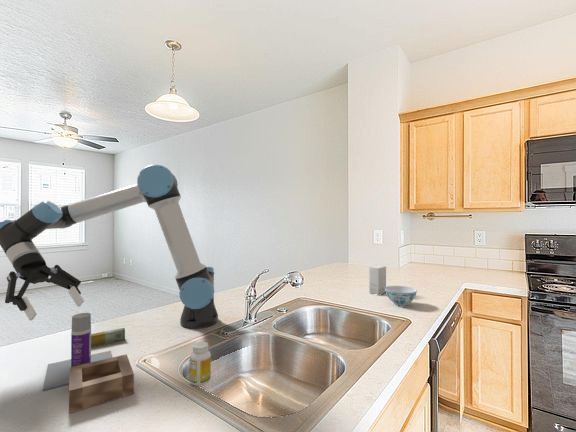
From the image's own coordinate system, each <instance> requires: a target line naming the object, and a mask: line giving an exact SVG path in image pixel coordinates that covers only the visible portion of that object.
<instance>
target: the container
mask: <svg viewBox="0 0 576 432" xmlns="http://www.w3.org/2000/svg"><path fill="white" fill-rule="evenodd" d="M91 321H92V314H91V313H90V312H82V313H76V314H74V315H72V316H71V331H70V332H71V335H70V338H71V340H70V341H71V343H70V344H71V347H70V350H71V352H70V354H71V355H70V358H71V367H73V366H78V365H82V364H86V363H91V355H92V347H91V334H92V322H91Z"/></svg>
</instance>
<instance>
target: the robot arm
mask: <svg viewBox="0 0 576 432" xmlns="http://www.w3.org/2000/svg"><path fill="white" fill-rule="evenodd" d="M136 180H137V181H136V184H133V185H129V186H125V187H123V188H122V187H121V188H119V189H116V190H112V191H110V192H106V193H103V194H99V195H96V196H92V197H89V198H86V199H82V200H80V201H76V202H73V203H70V204H67V205H63V206H60V207H59V206H58V205H57V204H55V203H54V202H52V201H50V200H42V201H40V202H39V203H38V204H35V205H34V206H33V207H32V208H31V209H30V210H28V211H27V212H25V213H24V214H23V215H22V216H19V218H17V219H14V218H9V219H8V218H7V219H4V220H3V221H0V247H1V249H2V250H3V252H4V254H5V255H6V257H7V259H8V260H9V262H10V264H11V265H12V267H13V269H14V270H13V271H10V272H9V273H8V275H7V276H6V280H7V289H6V292H5V299H4V303H5V304H10V303H12V305H13V306H17V308H18V309H19V311H20V312H24V314H25V316H26V317H27V319H28V320H29V322H31V321H33V320H34V319H35V318H36V316H37V314H38V313H37V312H36V310H35V307H33V305H32V304H31V302H30V300H29V298H28V297H27V296H24V294H25V293H26V291H27V290H28V288H29V285H30V284H33V285H36V284H39V283H40V284H41V283H45V282H46V283H48V284H50V283H51V284H54V285H56V286H59V287H61V288H64V289H66V290H68V294H69V295H70V297H71V299H72V300H73V302H74V303H75V305H76V306H77V308H79V307H81V306H82V305H83V303H84V302H85V300H84V298H83V297H82V295H81V294H82V293H81V291H80V289H79V286H80V285H81V283H82V282H81V280H79V279H78V278H77V277H75V276H73V275H71V274H70V273H69V272H67V271H66V270H64V269H63V268H62V267H60V265H59V264H55V265H54V267H53V266H52V267H49V266H48V265H47V262H46V261H45V258H44V257H43V255H42V254H41V253H40V251H39V249H38V248H37V246H36V244H34V242H33V239H35V238H36V237H37V236H39V235H40V234H42V233H43V232H45V231H46V230H53V229H61V230H62V229H63V230H64V229H66V228H70V227H71V226H73V225H76V224H79V223H82V222H84V221H88V220H91V219H95V218H97V217H101V216H104V215H107V214H110V213H113V212H117V211H121V210H123V209H126V208H129V207H133V206H136V205H139V204H142V203H146V204H147V206H148V208H149V209H152V210H153V211H154V212H155V215H156V217H157V220H158V223H159V225H160V228H161V231H162V233H163V237H164V239H165V242H166V244H167V247H168V250H169V252H170V255H171V258H172V260H173V263H174V266H175V268H176V270H177V272H176V275H175V276H174V279H175V281H176V284H177V287H178V290H179V299H180V302H181V303H182V304H183V305H184V306H183V309H182V312H181V315H180V319H179V320H180V322H179V323H180V326H182V327H183V328H187V329H200V328H206V327H210V326H214V325H215V324H217V323H218V322H219V314H218V311H217V309H216V305H215V302H214V301H215V284H214V283H215V281H214V280H215V279H214V278H215V271H214V267H212V266H207V265H206V264H204V263H201V260H200V258H199V255H198V252H197V250H196V247H195V244H194V242H193V237H191V233H190V231H189V228H188V225H187V222H186V219H185V217H184V214H183V211H182V209H181V206H180V203H179V202H180V200H181V194H180V191H179V188H178V187H179V186H178V184H179V183H178V180H177V178H176V176H175V175H174V174H173V173H172V172H171V170H170V169H169V168H168V167H166V166H164V165H160V164H149V165H147V166H145V167H143V168H142V169H141V170H140V171H139V173H138V175H137V179H136ZM49 277H50V278H49ZM18 279H20V280H23V281H24V282H23V284H22V285H21V287H20V289H19V291H18V293H17V294H16V295H15V292H16V285H17V280H18Z"/></svg>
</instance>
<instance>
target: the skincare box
mask: <svg viewBox="0 0 576 432" xmlns="http://www.w3.org/2000/svg"><path fill="white" fill-rule="evenodd" d="M368 270H369V271H368V273H369V277H368V278H369V282H368V284H369V286H368V288H369V290H368V291H369V294H370V293H372V294H371V295H374V294H377V295H376V296H381V295H383V294H382V293H384V294H386V293H385V287H387V266H384V265H379V264H377V265H372V266H369V269H368ZM380 294H381V295H380Z"/></svg>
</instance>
